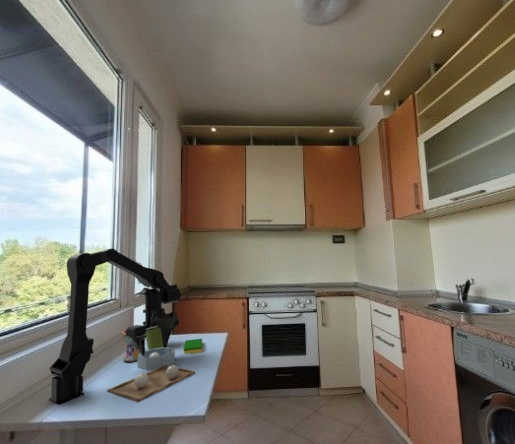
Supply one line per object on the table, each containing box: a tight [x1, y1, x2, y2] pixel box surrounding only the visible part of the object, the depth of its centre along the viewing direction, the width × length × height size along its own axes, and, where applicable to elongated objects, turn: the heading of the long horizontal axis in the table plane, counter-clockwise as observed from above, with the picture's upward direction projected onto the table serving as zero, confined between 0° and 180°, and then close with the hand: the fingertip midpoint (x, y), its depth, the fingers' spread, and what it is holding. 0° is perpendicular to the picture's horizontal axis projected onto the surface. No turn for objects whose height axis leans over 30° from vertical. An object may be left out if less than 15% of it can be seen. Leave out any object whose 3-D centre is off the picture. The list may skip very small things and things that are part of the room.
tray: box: [107, 365, 196, 403], centre depth 85 cm, size 20×14×1 cm
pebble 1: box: [134, 372, 149, 388], centre depth 81 cm, size 4×4×4 cm
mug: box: [121, 329, 147, 363], centre depth 111 cm, size 12×9×11 cm
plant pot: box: [141, 322, 164, 350], centre depth 123 cm, size 12×12×11 cm
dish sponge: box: [183, 338, 203, 355], centre depth 118 cm, size 7×14×2 cm, turn 11°
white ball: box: [149, 352, 160, 357], centre depth 101 cm, size 4×4×4 cm
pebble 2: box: [166, 364, 179, 379], centre depth 86 cm, size 4×4×4 cm
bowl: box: [137, 346, 176, 371], centre depth 102 cm, size 12×12×4 cm
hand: (154, 351), depth 101 cm, fingers open, 9 cm apart
